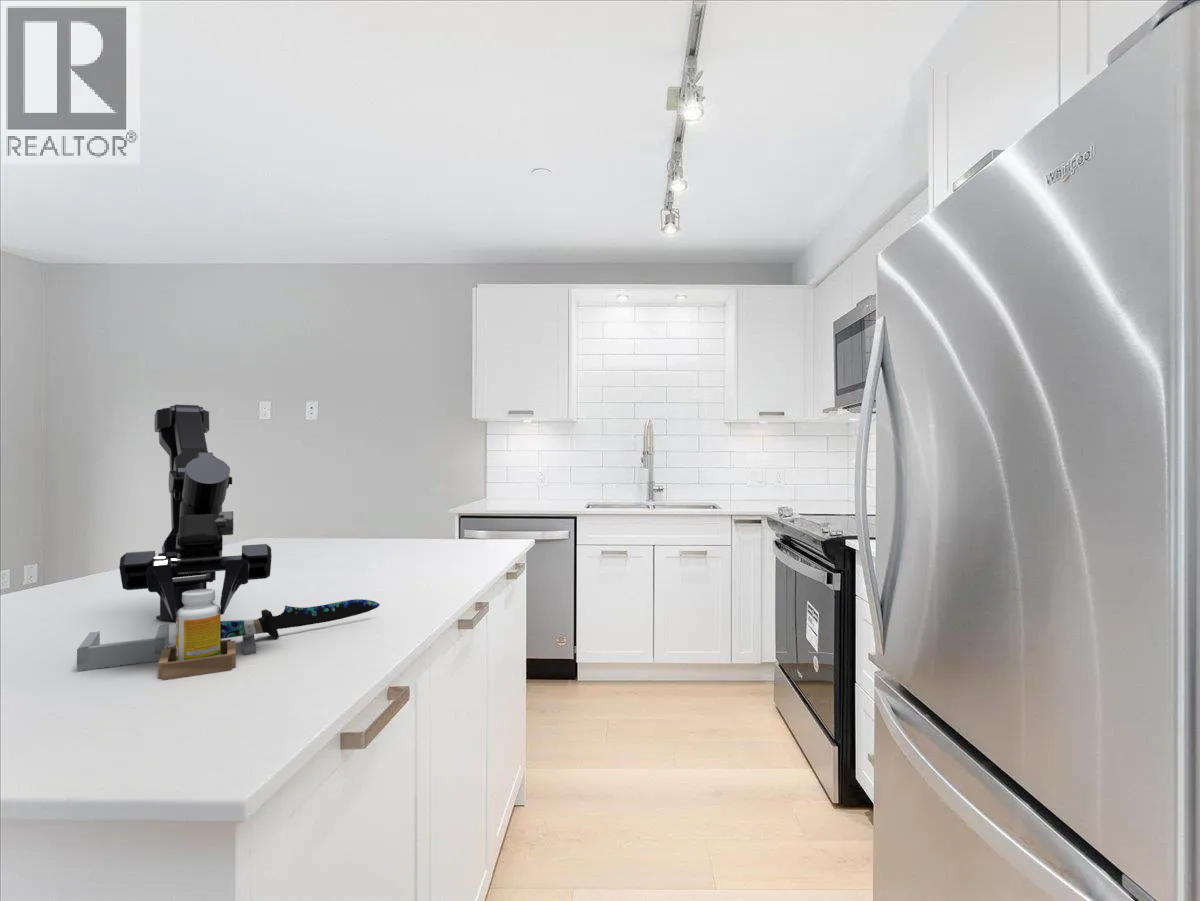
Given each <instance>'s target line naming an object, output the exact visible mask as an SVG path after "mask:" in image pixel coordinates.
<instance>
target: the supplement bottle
mask: <svg viewBox="0 0 1200 901" xmlns="http://www.w3.org/2000/svg"><path fill="white" fill-rule="evenodd" d="M215 600H216V590H215V589H212V588H207V589H196V590H190V591H186V592H183V593H182V603H183V604H184V607H182V608H180V609H179V610H178V611H177V613H176V621H175V646H176V661H180V660H187V659H194V658H202V657H209V656H217V655H220V651H221V646H220V641H221V639H220V621H221V617H222V615H221V614H220V606H219V605H218V604H216V603H214V602H215Z"/></svg>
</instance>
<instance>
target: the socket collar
mask: <svg viewBox="0 0 1200 901" xmlns="http://www.w3.org/2000/svg"><path fill="white" fill-rule="evenodd" d="M220 646H221V651H220V655H217V656H209V657H202V658H194V659H187V660H180V661H176V645H175V646H168V647H167V649H164V650H162V653H161V656H160V659H159V661H158V665H157V666H158V667H157V672H158V674H157V679H161V680H162V681H163V680H164V681H165V680H166V681H167V680H173V679H177V678H179V679H180V678H184V677H191V676H199V674H200V675H204V674H205V675H206V673H207V674H211V673H212V672H213V673H218V672H219V671H220V672H226V671H225V670H227V671H232V670H233V668H236V663H237V662H236V659H237V657H236V656H237V655H236V654H237V652H236V640H232V639H229V638H228V639H223V640H222V639H220ZM213 673H212V674H213Z"/></svg>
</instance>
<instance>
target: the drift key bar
mask: <svg viewBox="0 0 1200 901" xmlns="http://www.w3.org/2000/svg"><path fill="white" fill-rule="evenodd" d="M242 648H243V655H244V654H246V655H252V654H251V653H253V654H257V644H256V639H255V634H251V635H244V636H242Z"/></svg>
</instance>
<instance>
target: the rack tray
mask: <svg viewBox="0 0 1200 901" xmlns="http://www.w3.org/2000/svg"><path fill="white" fill-rule="evenodd" d="M157 629H158V630H157V632H156V634H155V636H154V637H152V638H145V639H136V640H135V639H134V640H126V641H119V642H110V643H109V642H108V643H103V644H102V643H101V642H100V640H101V639H100V638H101V636H100V634H101V632H100V631H99V630H98V631H91V632H90V631H89V633H88V634H87V636H86V637H85V638H84V640H83V641H82V643H80V645H79V646H78V648H77V649H76V672H77V671H78V672H83V671H82V670H85V671H91V670H90V669H93V670H98V669H97V668H100V669H106V668H105V667H108V668H113V667H112V666H115V667H120V665H123V666H128V665H127V664H130V665H135V664H137V663H138V664H143V663H151V662H157V661H158V662H159V659H160V656H161V653H162V650H164V649H167V647H169V645H170V644H169V643H170V623H164V624H162V623H161V624H159V626H158V628H157Z"/></svg>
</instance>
